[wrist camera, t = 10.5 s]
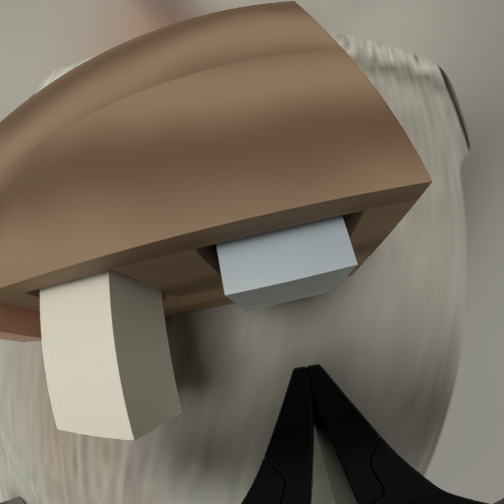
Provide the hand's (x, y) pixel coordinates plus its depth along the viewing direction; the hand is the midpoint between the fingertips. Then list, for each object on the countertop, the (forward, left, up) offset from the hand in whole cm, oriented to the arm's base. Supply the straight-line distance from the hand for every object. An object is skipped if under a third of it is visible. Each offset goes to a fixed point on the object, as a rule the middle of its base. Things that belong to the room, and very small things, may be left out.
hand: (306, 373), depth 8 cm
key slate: (+6, 0, -2) cm, 6 cm away
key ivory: (+2, +7, -2) cm, 7 cm away
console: (+10, +7, -7) cm, 14 cm away
